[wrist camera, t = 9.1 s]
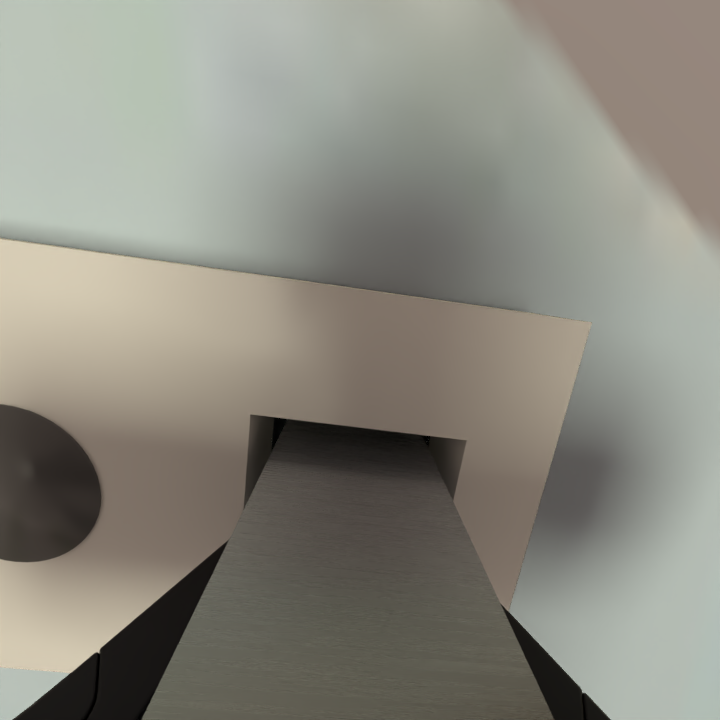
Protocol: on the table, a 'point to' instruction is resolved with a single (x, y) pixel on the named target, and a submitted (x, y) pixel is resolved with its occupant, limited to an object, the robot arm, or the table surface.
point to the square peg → (349, 598)
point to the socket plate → (233, 421)
